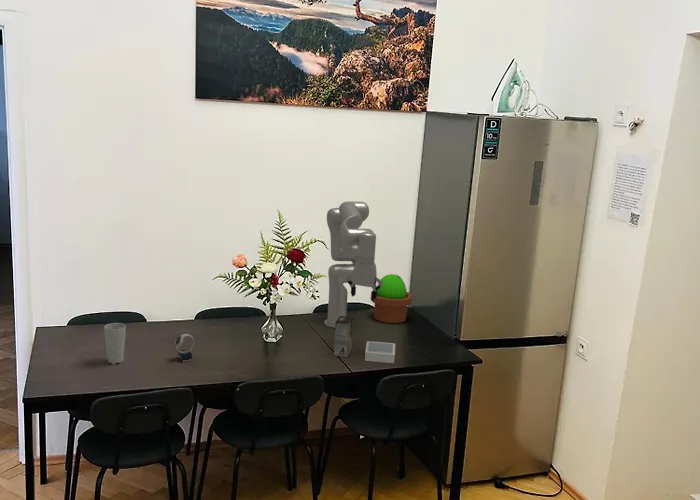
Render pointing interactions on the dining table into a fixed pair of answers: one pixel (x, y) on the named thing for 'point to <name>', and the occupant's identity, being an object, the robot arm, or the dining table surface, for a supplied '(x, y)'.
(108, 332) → the cup
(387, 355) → the shallow grey tray
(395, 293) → the potted cactus
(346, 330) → the coffee box
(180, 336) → the watch
